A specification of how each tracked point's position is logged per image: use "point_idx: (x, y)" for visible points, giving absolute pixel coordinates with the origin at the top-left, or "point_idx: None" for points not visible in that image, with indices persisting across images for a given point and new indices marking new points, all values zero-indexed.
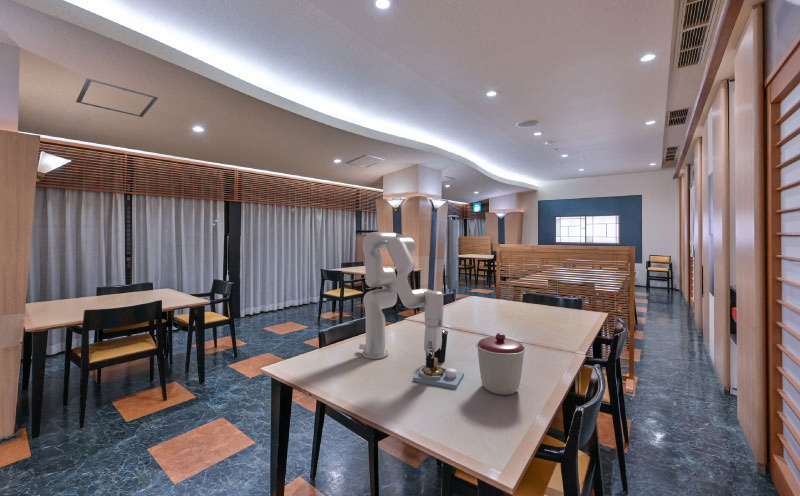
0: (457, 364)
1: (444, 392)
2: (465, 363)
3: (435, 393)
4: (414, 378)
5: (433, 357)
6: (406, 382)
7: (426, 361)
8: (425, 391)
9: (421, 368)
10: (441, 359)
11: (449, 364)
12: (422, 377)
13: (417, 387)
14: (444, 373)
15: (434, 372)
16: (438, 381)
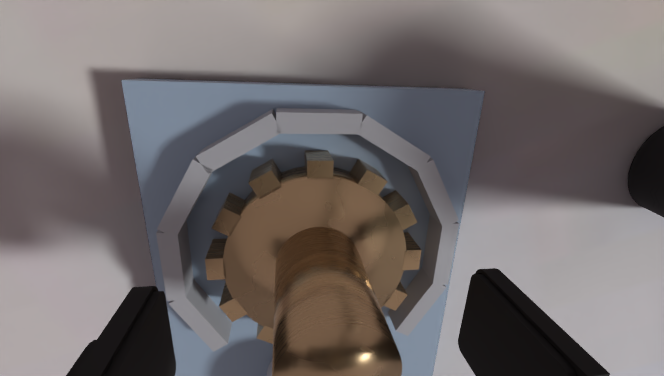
0: (604, 303)
1: None
2: (625, 339)
3: (30, 331)
4: (131, 97)
5: (361, 368)
6: (62, 18)
7: (91, 361)
8: (5, 259)
9: (330, 121)
10: (658, 205)
11: (600, 256)
12: (176, 180)
13: (30, 171)
14: None
15: (263, 290)
16: (173, 329)
